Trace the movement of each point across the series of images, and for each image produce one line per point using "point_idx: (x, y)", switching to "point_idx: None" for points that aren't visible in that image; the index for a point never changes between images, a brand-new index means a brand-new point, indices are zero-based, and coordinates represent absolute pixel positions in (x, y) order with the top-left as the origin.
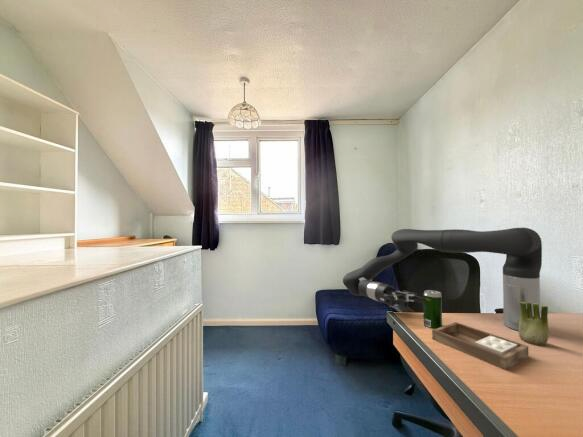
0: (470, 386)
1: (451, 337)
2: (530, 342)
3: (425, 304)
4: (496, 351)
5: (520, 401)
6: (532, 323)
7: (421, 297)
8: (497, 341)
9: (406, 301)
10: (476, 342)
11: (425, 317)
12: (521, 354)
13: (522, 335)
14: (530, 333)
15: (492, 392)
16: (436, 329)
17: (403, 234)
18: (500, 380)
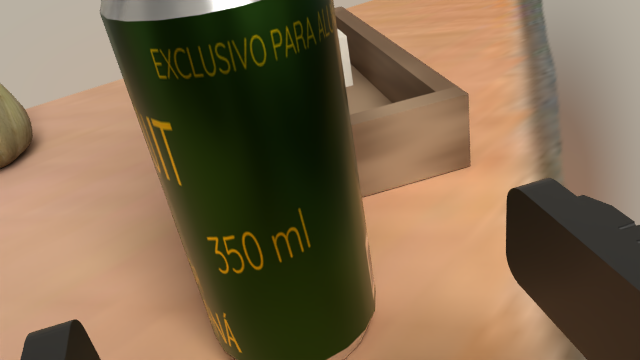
0: (512, 22)
1: (414, 57)
2: (31, 130)
3: (343, 89)
4: None
5: (424, 12)
6: None
7: (36, 357)
8: None
9: (545, 188)
10: (343, 34)
11: (364, 225)
12: None
13: (10, 127)
14: (9, 94)
15: (466, 18)
16: (433, 98)
17: None
18: (397, 40)
